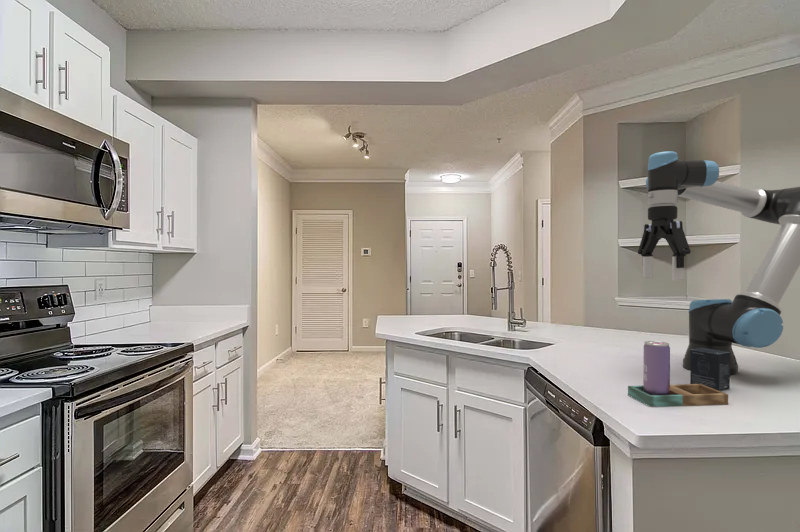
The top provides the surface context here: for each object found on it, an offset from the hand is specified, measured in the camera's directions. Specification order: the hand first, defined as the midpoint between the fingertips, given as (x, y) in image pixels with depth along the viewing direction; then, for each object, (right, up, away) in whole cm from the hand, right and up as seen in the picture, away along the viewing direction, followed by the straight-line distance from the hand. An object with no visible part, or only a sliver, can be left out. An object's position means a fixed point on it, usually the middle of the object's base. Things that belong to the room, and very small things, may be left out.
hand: (662, 278), depth 134 cm
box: (+12, -31, -4) cm, 33 cm away
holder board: (-5, -31, -15) cm, 35 cm away
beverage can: (-10, -31, -15) cm, 36 cm away
